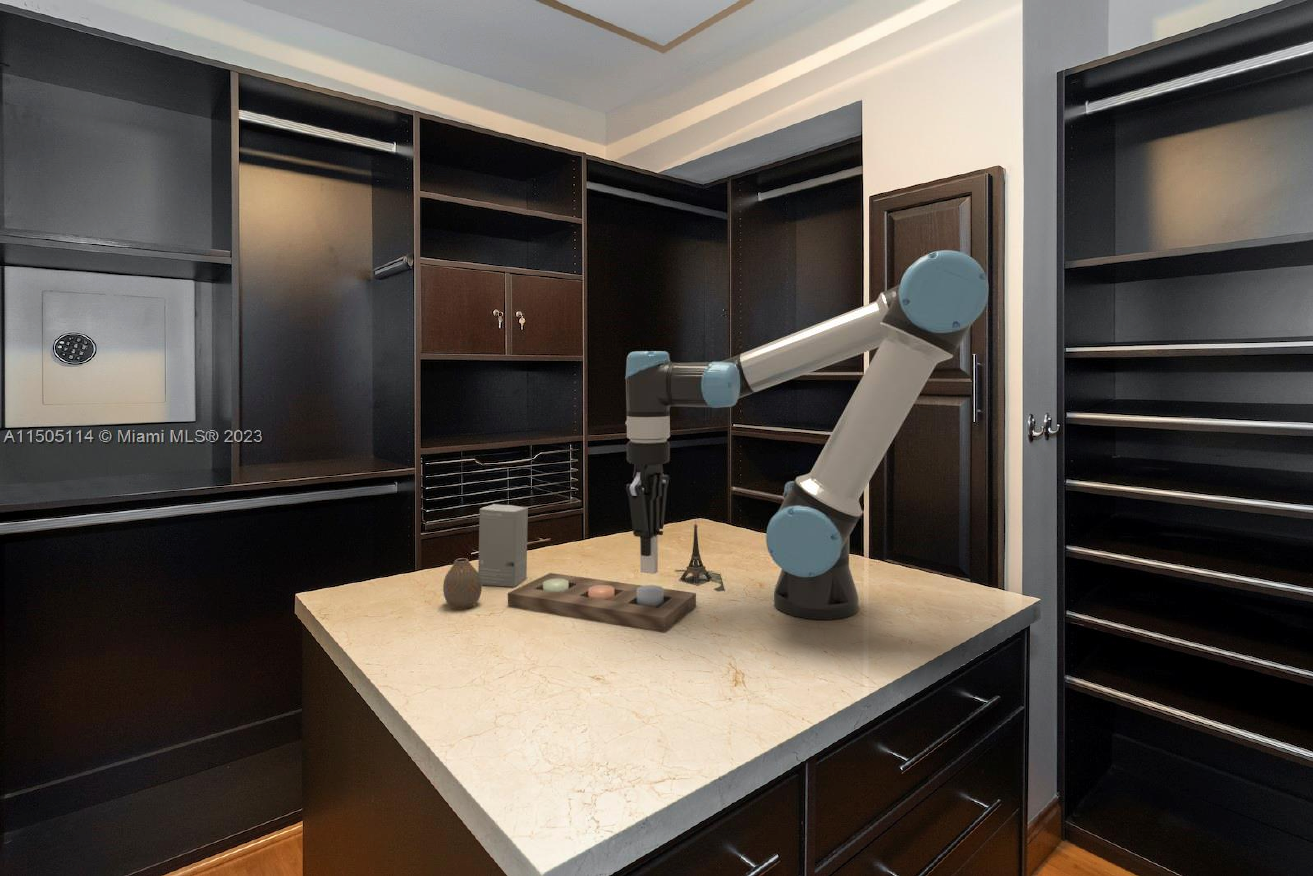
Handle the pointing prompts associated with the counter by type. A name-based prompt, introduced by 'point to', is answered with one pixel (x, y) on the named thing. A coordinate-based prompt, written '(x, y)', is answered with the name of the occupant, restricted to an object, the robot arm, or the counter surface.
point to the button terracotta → (601, 592)
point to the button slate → (650, 596)
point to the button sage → (555, 585)
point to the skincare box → (503, 545)
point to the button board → (603, 603)
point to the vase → (462, 585)
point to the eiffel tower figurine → (699, 569)
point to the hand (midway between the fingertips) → (649, 571)
